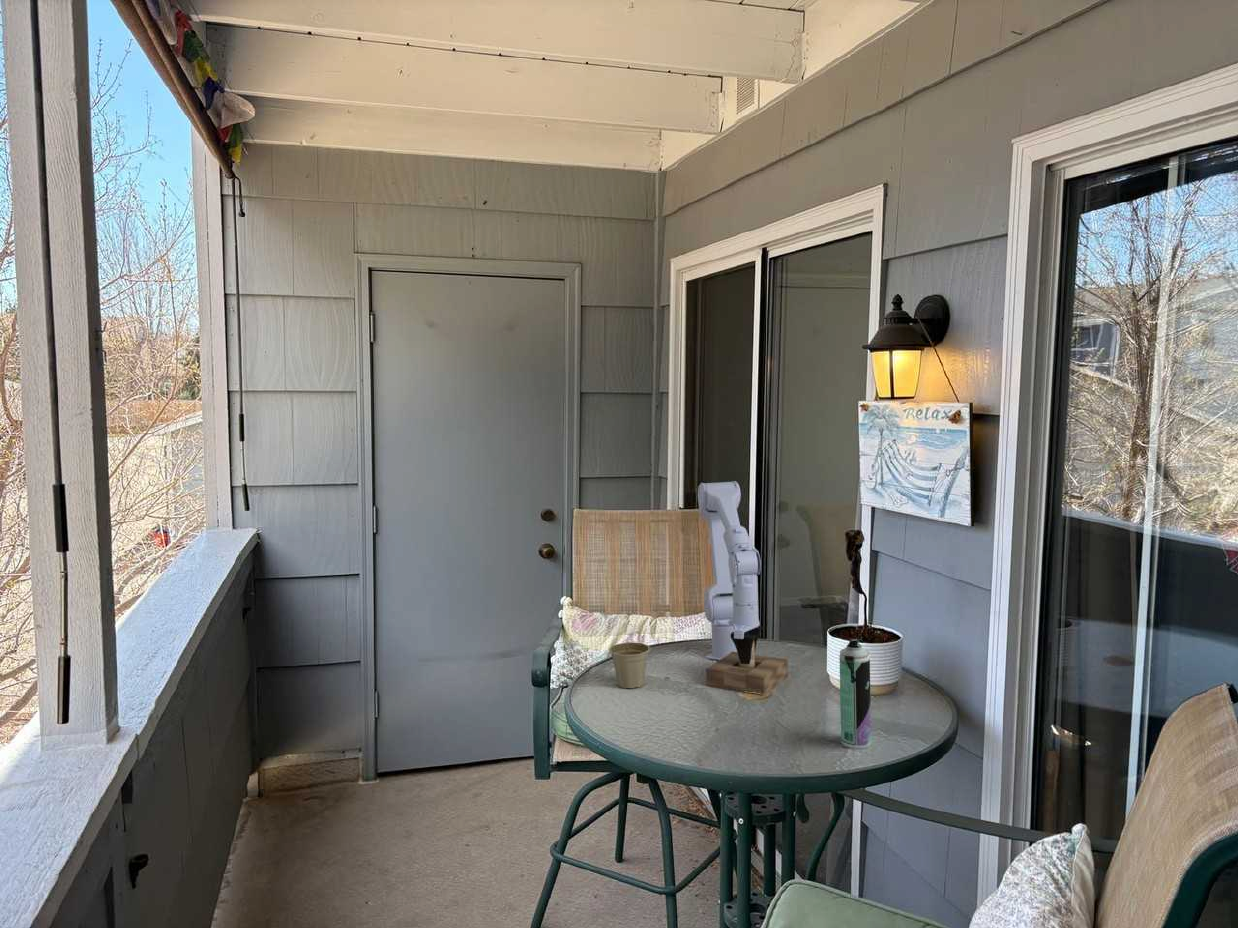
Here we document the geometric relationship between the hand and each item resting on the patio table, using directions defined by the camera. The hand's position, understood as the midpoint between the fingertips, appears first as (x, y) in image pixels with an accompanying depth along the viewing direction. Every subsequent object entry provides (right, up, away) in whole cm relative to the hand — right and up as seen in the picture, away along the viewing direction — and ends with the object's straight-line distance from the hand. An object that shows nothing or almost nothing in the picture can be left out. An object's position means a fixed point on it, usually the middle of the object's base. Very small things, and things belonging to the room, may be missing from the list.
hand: (747, 660), depth 194 cm
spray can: (+15, -8, -35) cm, 39 cm away
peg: (0, -3, 0) cm, 3 cm away
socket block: (0, -5, 0) cm, 5 cm away
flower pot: (-27, -6, +1) cm, 27 cm away
